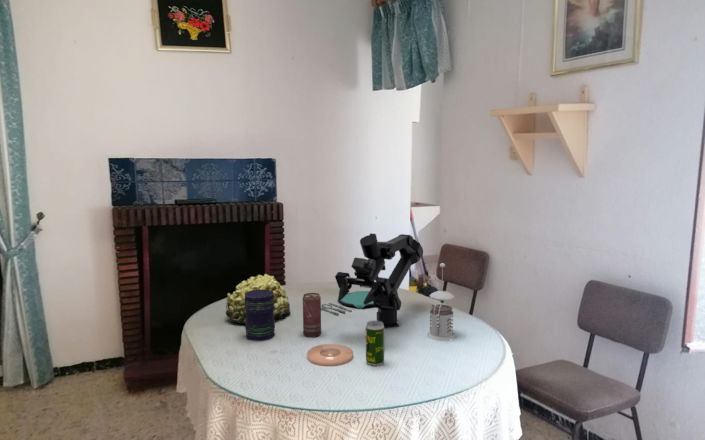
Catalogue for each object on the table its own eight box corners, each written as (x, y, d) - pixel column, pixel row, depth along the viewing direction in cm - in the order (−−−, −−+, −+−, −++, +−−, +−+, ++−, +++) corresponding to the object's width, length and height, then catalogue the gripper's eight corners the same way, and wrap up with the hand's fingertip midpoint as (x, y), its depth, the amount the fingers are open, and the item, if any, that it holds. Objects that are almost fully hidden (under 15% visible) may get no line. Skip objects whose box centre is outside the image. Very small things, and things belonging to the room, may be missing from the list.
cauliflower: (294, 323, 181) (293, 281, 179) (226, 329, 176) (224, 286, 173) (286, 304, 205) (285, 266, 203) (226, 308, 200) (224, 270, 197)
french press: (458, 332, 171) (460, 261, 168) (450, 344, 160) (452, 268, 157) (431, 328, 175) (432, 259, 172) (421, 339, 165) (422, 265, 161)
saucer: (344, 345, 160) (344, 341, 160) (359, 361, 147) (359, 357, 147) (302, 351, 156) (302, 347, 155) (314, 369, 142) (314, 364, 142)
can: (319, 338, 166) (318, 297, 165) (301, 336, 168) (300, 296, 166) (323, 331, 172) (323, 292, 170) (306, 330, 174) (305, 291, 172)
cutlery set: (396, 302, 206) (396, 297, 206) (339, 319, 188) (338, 313, 187) (364, 293, 222) (364, 288, 221) (309, 307, 203) (309, 302, 203)
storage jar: (261, 343, 162) (259, 299, 160) (239, 337, 167) (237, 294, 165) (281, 334, 170) (280, 291, 169) (259, 329, 176) (258, 287, 174)
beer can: (373, 357, 150) (373, 319, 149) (387, 362, 147) (387, 322, 145) (362, 363, 146) (362, 323, 145) (376, 368, 143) (376, 327, 141)
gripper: (341, 247, 167) (319, 279, 156) (391, 253, 157) (371, 286, 147) (350, 272, 173) (329, 304, 162) (399, 279, 163) (380, 313, 153)
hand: (351, 301), depth 156 cm, fingers open, 9 cm apart
